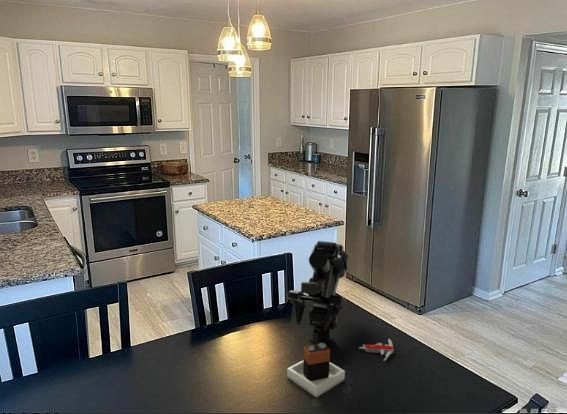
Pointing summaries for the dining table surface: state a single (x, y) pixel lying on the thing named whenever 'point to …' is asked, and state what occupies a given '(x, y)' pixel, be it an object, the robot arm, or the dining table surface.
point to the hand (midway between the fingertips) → (311, 326)
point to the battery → (316, 362)
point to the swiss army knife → (379, 348)
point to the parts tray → (317, 385)
